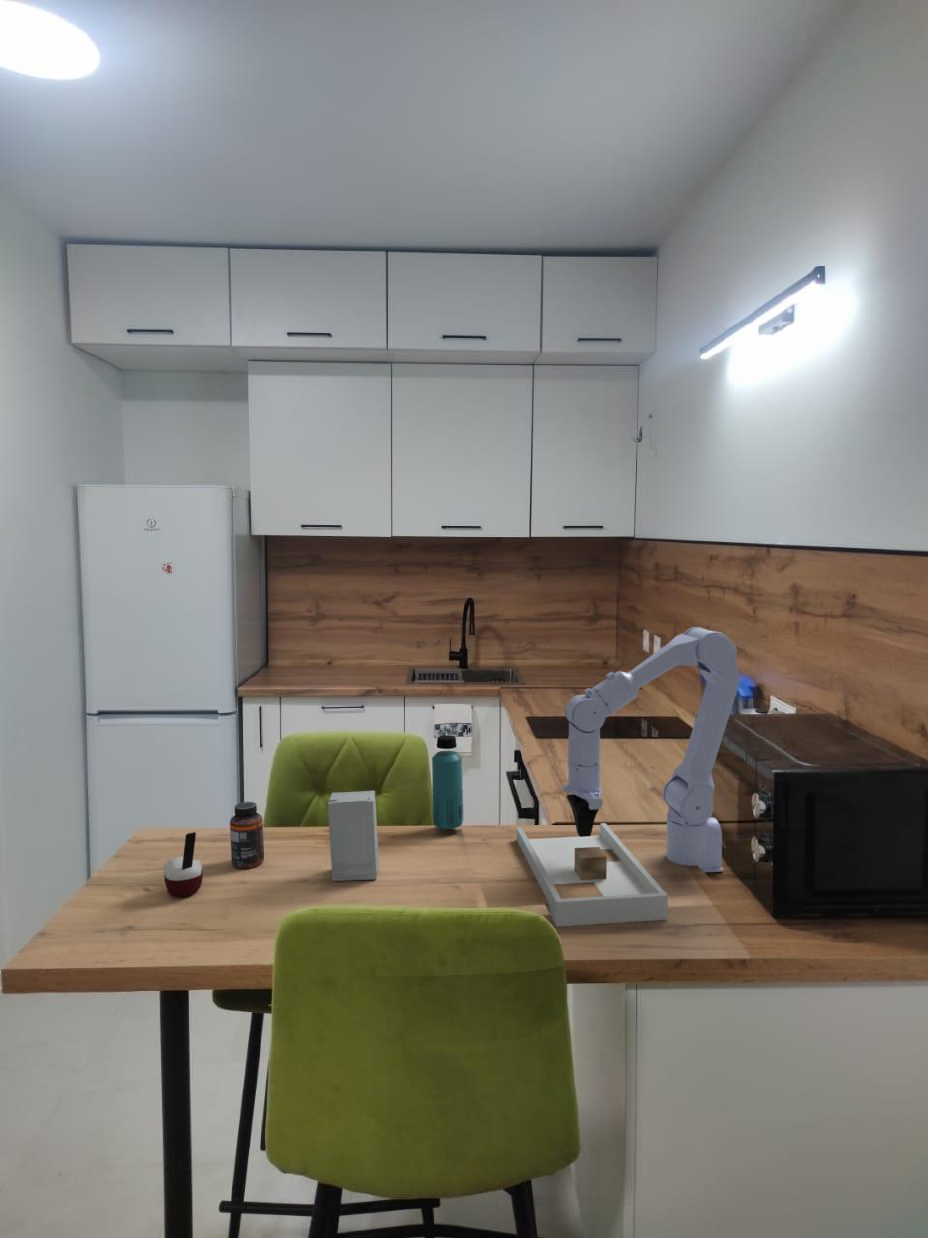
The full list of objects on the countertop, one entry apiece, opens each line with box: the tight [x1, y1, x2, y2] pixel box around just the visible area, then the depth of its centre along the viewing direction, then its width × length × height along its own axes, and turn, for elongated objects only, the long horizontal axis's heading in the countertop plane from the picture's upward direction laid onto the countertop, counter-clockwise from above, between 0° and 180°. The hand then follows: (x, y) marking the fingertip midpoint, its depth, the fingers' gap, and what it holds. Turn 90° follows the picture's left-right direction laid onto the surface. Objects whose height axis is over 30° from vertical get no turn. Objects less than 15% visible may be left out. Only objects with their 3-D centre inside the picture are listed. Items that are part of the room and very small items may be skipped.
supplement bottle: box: [229, 801, 265, 869], centre depth 149 cm, size 6×6×11 cm
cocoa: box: [163, 831, 204, 899], centre depth 135 cm, size 10×6×12 cm, turn 16°
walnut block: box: [574, 847, 608, 880], centre depth 140 cm, size 4×4×4 cm
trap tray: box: [516, 822, 669, 928], centre depth 141 cm, size 18×33×4 cm, turn 7°
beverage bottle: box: [431, 735, 464, 830], centre depth 165 cm, size 6×7×20 cm
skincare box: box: [327, 790, 380, 882], centre depth 143 cm, size 8×6×15 cm
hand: (584, 835), depth 145 cm, fingers closed
